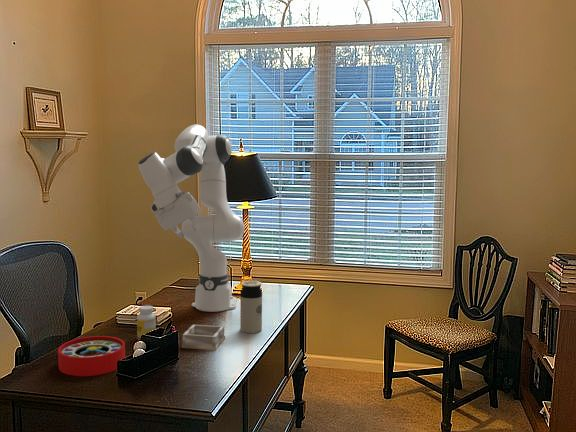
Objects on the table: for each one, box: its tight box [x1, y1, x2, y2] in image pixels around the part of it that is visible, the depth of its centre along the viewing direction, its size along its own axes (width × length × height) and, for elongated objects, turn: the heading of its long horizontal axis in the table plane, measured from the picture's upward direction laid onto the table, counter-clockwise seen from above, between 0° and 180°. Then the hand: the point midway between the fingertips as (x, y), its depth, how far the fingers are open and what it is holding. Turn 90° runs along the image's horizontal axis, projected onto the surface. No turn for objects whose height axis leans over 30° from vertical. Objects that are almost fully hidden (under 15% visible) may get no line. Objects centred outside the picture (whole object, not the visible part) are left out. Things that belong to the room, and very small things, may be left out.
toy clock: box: [57, 335, 126, 377], centre depth 188 cm, size 20×6×20 cm
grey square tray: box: [181, 324, 226, 351], centre depth 208 cm, size 12×12×4 cm
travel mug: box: [239, 280, 263, 334], centre depth 222 cm, size 8×8×18 cm
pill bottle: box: [136, 305, 157, 341], centre depth 211 cm, size 6×6×12 cm
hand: (189, 233), depth 205 cm, fingers open, 8 cm apart
